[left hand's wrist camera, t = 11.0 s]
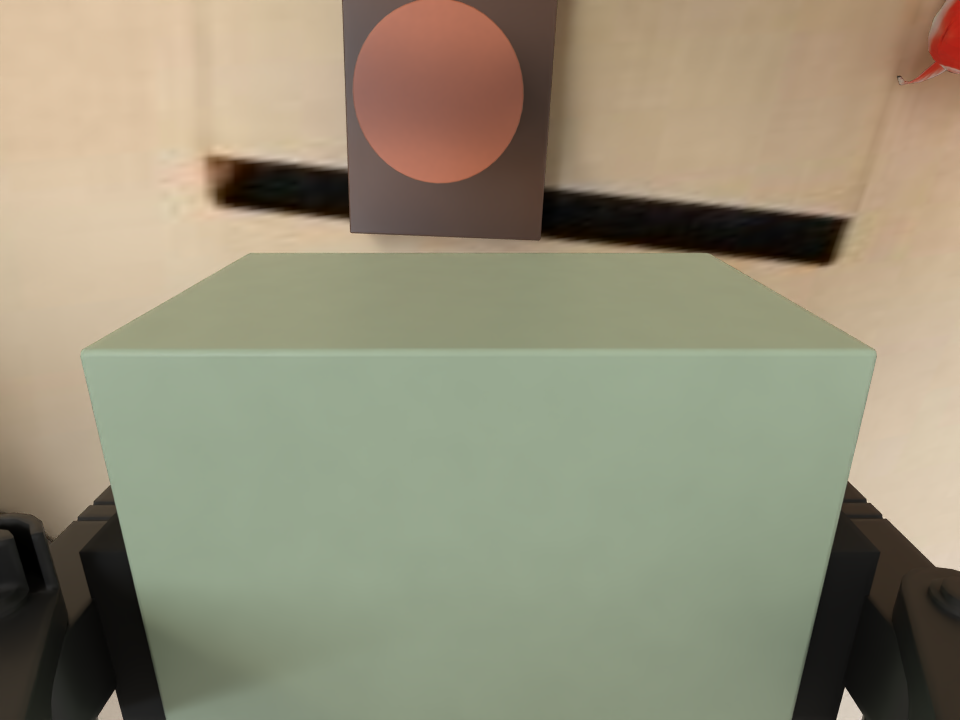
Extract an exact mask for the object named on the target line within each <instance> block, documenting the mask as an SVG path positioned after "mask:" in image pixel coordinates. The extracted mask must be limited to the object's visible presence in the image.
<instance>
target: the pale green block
mask: <svg viewBox="0 0 960 720" xmlns="http://www.w3.org/2000/svg"><path fill="white" fill-rule="evenodd" d="M876 357H877V355H876V351H875V349H873V348H871V347H869V346H868V345H866V344H864V343H863V342H861V341H859V340H857V339H856V338H854V337H852V336H850V335H849V334H847V333H845V332H844V331H842V330H840V329H838V328H837V327H835V326H833V325H832V324H830V323H828V322H826V321H825V320H823V319H821V318H819V317H818V316H816V315H814V314H813V313H811V312H809V311H807V310H806V309H804V308H802V307H800V306H799V305H797V304H795V303H794V302H792V301H790V300H788V299H787V298H785V297H783V296H781V295H780V294H778V293H776V292H775V291H773V290H771V289H769V288H768V287H766V286H764V285H763V284H761V283H759V282H757V281H756V280H754V279H752V278H750V277H749V276H747V275H745V274H744V273H742V272H740V271H738V270H737V269H735V268H733V267H731V266H730V265H728V264H726V263H725V262H723V261H721V260H719V259H718V258H716V257H714V256H712V255H711V254H708V253H250V254H247V255H246V256H244V257H242V258H240V259H239V260H237V261H235V262H233V263H232V264H230V265H228V266H226V267H225V268H223V269H221V270H220V271H218V272H216V273H214V274H213V275H211V276H209V277H207V278H206V279H204V280H202V281H200V282H199V283H197V284H195V285H194V286H192V287H190V288H188V289H187V290H185V291H183V292H181V293H180V294H178V295H176V296H175V297H173V298H171V299H169V300H168V301H166V302H164V303H162V304H161V305H159V306H157V307H155V308H154V309H152V310H150V311H149V312H147V313H145V314H143V315H142V316H140V317H138V318H136V319H135V320H133V321H131V322H129V323H128V324H126V325H124V326H123V327H121V328H119V329H117V330H116V331H114V332H112V333H110V334H109V335H107V336H105V337H104V338H102V339H100V340H98V341H97V342H95V343H93V344H91V345H90V346H88V347H86V348H84V349H83V350H82V351H81V361H82V365H83V369H84V373H85V378H86V382H87V386H88V390H89V395H90V399H91V403H92V407H93V412H94V416H95V420H96V424H97V429H98V433H99V437H100V441H101V446H102V450H103V454H104V458H105V463H106V467H107V471H108V475H109V479H110V484H111V488H112V492H113V496H114V501H115V505H116V509H117V513H118V518H119V522H120V526H121V530H122V535H123V539H124V543H125V547H126V552H127V556H128V560H129V564H130V569H131V573H132V577H133V581H134V586H135V590H136V594H137V598H138V602H139V607H140V611H141V615H142V619H143V624H144V628H145V632H146V636H147V641H148V645H149V649H150V653H151V658H152V662H153V666H154V670H155V675H156V679H157V683H158V687H159V692H160V696H161V700H162V704H163V709H164V713H165V717H166V720H792V716H793V711H794V707H795V703H796V699H797V694H798V690H799V686H800V681H801V677H802V673H803V669H804V664H805V660H806V656H807V652H808V647H809V643H810V639H811V635H812V630H813V626H814V622H815V618H816V613H817V609H818V605H819V600H820V596H821V592H822V588H823V583H824V579H825V575H826V571H827V566H828V562H829V558H830V554H831V549H832V545H833V541H834V537H835V532H836V528H837V524H838V519H839V515H840V511H841V507H842V502H843V498H844V494H845V490H846V485H847V481H848V477H849V473H850V468H851V464H852V460H853V456H854V451H855V447H856V443H857V438H858V434H859V430H860V426H861V421H862V417H863V413H864V409H865V404H866V400H867V396H868V392H869V387H870V383H871V379H872V375H873V370H874V366H875V362H876Z"/></svg>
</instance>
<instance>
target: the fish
mask: <svg viewBox="0 0 960 720" xmlns="http://www.w3.org/2000/svg"><path fill="white" fill-rule="evenodd" d="M928 50H929V53H930V54H931V56H932V58H933V59H934V60H935V62H934V63H933V64H932V65H931V66H930V67H928V68H927V69H926V70H925V71H924V72H923V73H921V74H920V75H919V76H918V77H917V78H915V79H914V80H912V81H910V82H907V81H904V80H903V78H902V77H901V76H897V78H898V81H899V84H900V85H903V84H910V83H918V82H922V81H924V80H927V79H930V78H932V77H935V76H937V75H939V74H941V73H943V72H944V71H946V70H947V71H949V72H952V73H956V74H960V0H947V1H946V2H945V3H944V5H943V6H942V7H941V9H940V10H939V11H938V13H937V14H936V16H935V17H934V19H933V22H932V26H931V29H930V32H929V35H928Z"/></svg>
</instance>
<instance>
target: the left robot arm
mask: <svg viewBox="0 0 960 720" xmlns="http://www.w3.org/2000/svg"><path fill="white" fill-rule="evenodd" d="M845 687H846V689H847V690H848V692H849V694H850V695H851V697H852V698H853V700H854V701H855V703H856V704H857V706H858V708H859V709H860V711H861V712H862V714H863V716H862V720H960V571H957V570H953V569H947V568H939V567H935V566H934V565H933V564H932V563H931V562H930V561H929V560H928V559H927V558H926V557H925V556H924V555H923V554H922V553H921V552H920V551H919V550H918V549H917V548H916V547H915V546H914V545H913V544H912V543H911V542H910V541H909V540H908V539H907V538H906V537H905V536H904V535H903V534H901V533H900V532H899V531H898V530H897V529H896V528H895V527H894V526H893V525H892V524H891V523H890V522H889V521H888V520H887V519H883V518H882V514H881V513H880V512H879V511H878V510H877V509H876V508H875V507H874V506H873V505H872V504H871V503H867V501H866V498H865V497H864V496H863V495H862V494H861V493H860V492H859V491H858V490H856V489H855V488H854V487H853V486H852V485H851V484H850V483H849V482H848V481H847V485H846V490H845V494H844V498H843V502H842V507H841V511H840V515H839V519H838V524H837V528H836V532H835V537H834V541H833V545H832V549H831V554H830V558H829V562H828V566H827V571H826V575H825V579H824V583H823V588H822V592H821V596H820V600H819V605H818V609H817V613H816V618H815V622H814V626H813V630H812V635H811V639H810V643H809V647H808V652H807V656H806V660H805V664H804V669H803V673H802V677H801V681H800V686H799V690H798V694H797V699H796V703H795V707H794V711H793V716H792V720H836V718H837V714H838V711H839V707H840V703H841V699H842V696H843V692H844V688H845ZM114 690H116V694H117V697H118V701H119V705H120V709H121V712H122V716H123V720H166V717H165V713H164V709H163V704H162V700H161V696H160V692H159V687H158V683H157V679H156V675H155V670H154V666H153V662H152V658H151V653H150V649H149V645H148V641H147V636H146V632H145V628H144V624H143V619H142V615H141V611H140V607H139V602H138V598H137V594H136V590H135V586H134V581H133V577H132V573H131V569H130V564H129V560H128V556H127V552H126V547H125V543H124V539H123V535H122V530H121V526H120V522H119V518H118V513H117V509H116V505H115V501H114V496H113V492H112V488H111V485H110V486H109V487H108V488H107V489H106V490H105V491H104V492H103V493H102V494H101V495H100V496H99V497H98V498H97V499H96V500H95V501H94V504H93V505H90V506H89V507H88V508H87V509H86V510H85V511H84V512H82V513H81V514H80V515H79V516H78V520H77V521H73V522H72V523H71V524H70V525H69V526H68V527H67V528H66V529H65V530H64V531H63V532H62V533H61V534H60V535H59V536H58V537H57V538H56V539H55V540H54V541H53V542H51V541H50V540H49V539H47V538H46V534H45V531H44V527H43V524H42V521H40V520H39V519H37V518H36V517H34V516H33V515H28V514H20V513H7V514H0V720H98V715H99V713H100V712H101V710H102V709H103V707H104V706H105V704H106V703H107V701H108V699H109V698H110V696H111V695H112V693H113V692H114Z"/></svg>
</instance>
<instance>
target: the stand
mask: <svg viewBox="0 0 960 720" xmlns="http://www.w3.org/2000/svg"><path fill="white" fill-rule="evenodd" d="M342 12H343V41H344V69H345V98H346V127H347V156H348V185H349V214H350V232H351V233H363V234H388V235H413V236H439V237H464V238H489V239H515V240H540V239H541V225H542V211H543V197H544V183H545V169H546V155H547V141H548V127H549V113H550V99H551V84H552V70H553V56H554V42H555V28H556V14H557V0H342Z"/></svg>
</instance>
